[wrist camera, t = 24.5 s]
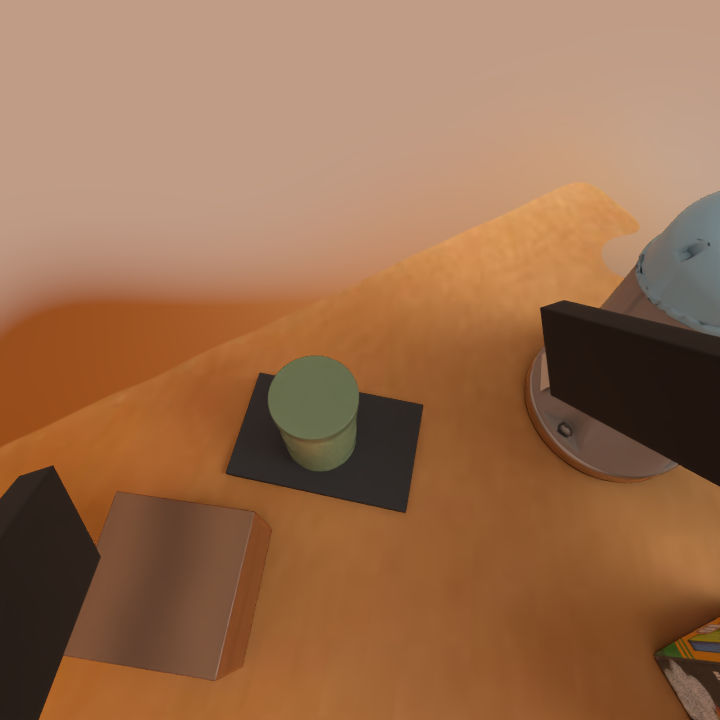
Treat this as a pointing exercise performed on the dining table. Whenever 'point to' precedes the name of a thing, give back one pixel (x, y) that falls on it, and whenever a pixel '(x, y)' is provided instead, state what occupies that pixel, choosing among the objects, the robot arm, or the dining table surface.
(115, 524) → the walnut block
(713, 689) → the chalk box
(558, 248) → the dining table surface
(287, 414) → the green tin
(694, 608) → the dining table surface
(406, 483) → the rubber mat
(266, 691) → the dining table surface
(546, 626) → the dining table surface
